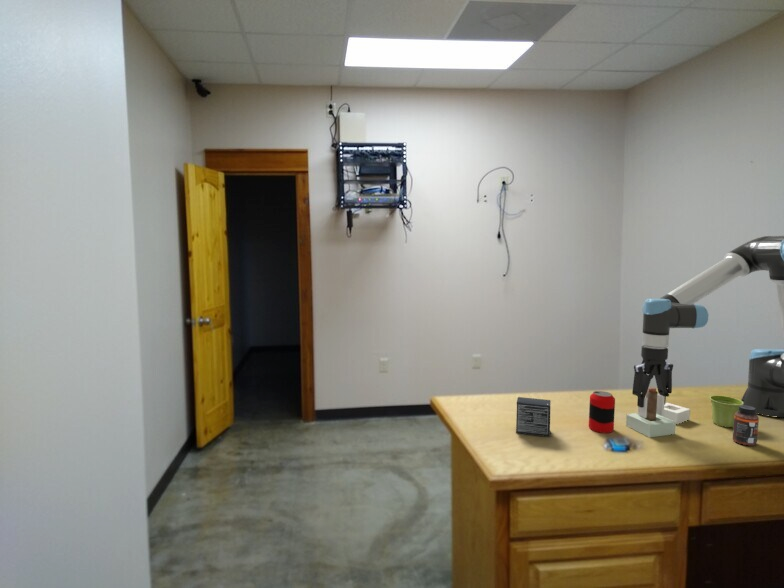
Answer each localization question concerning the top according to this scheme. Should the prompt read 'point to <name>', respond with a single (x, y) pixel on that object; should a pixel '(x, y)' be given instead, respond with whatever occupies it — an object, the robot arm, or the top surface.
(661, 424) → the pale open box
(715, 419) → the plant pot
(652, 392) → the brown cylinder
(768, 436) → the top surface
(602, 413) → the soda can
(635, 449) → the top surface
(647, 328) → the robot arm
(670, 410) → the white hollow block
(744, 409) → the supplement bottle
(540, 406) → the small box
